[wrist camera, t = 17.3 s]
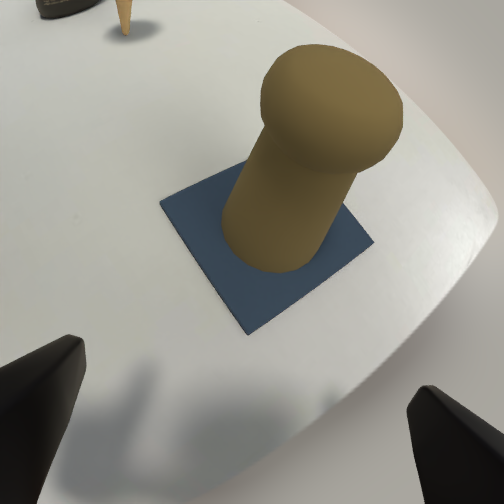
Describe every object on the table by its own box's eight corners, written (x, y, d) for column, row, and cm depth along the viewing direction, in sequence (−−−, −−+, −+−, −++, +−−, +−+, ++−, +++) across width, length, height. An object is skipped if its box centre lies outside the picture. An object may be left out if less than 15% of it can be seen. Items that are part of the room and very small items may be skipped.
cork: (315, 284, 18) (444, 166, 8) (209, 257, 17) (239, 90, 7) (325, 196, 20) (413, 62, 10) (234, 170, 20) (274, 10, 10)
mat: (247, 335, 16) (248, 334, 16) (159, 204, 18) (159, 201, 18) (372, 244, 20) (374, 242, 20) (288, 144, 22) (289, 141, 22)
